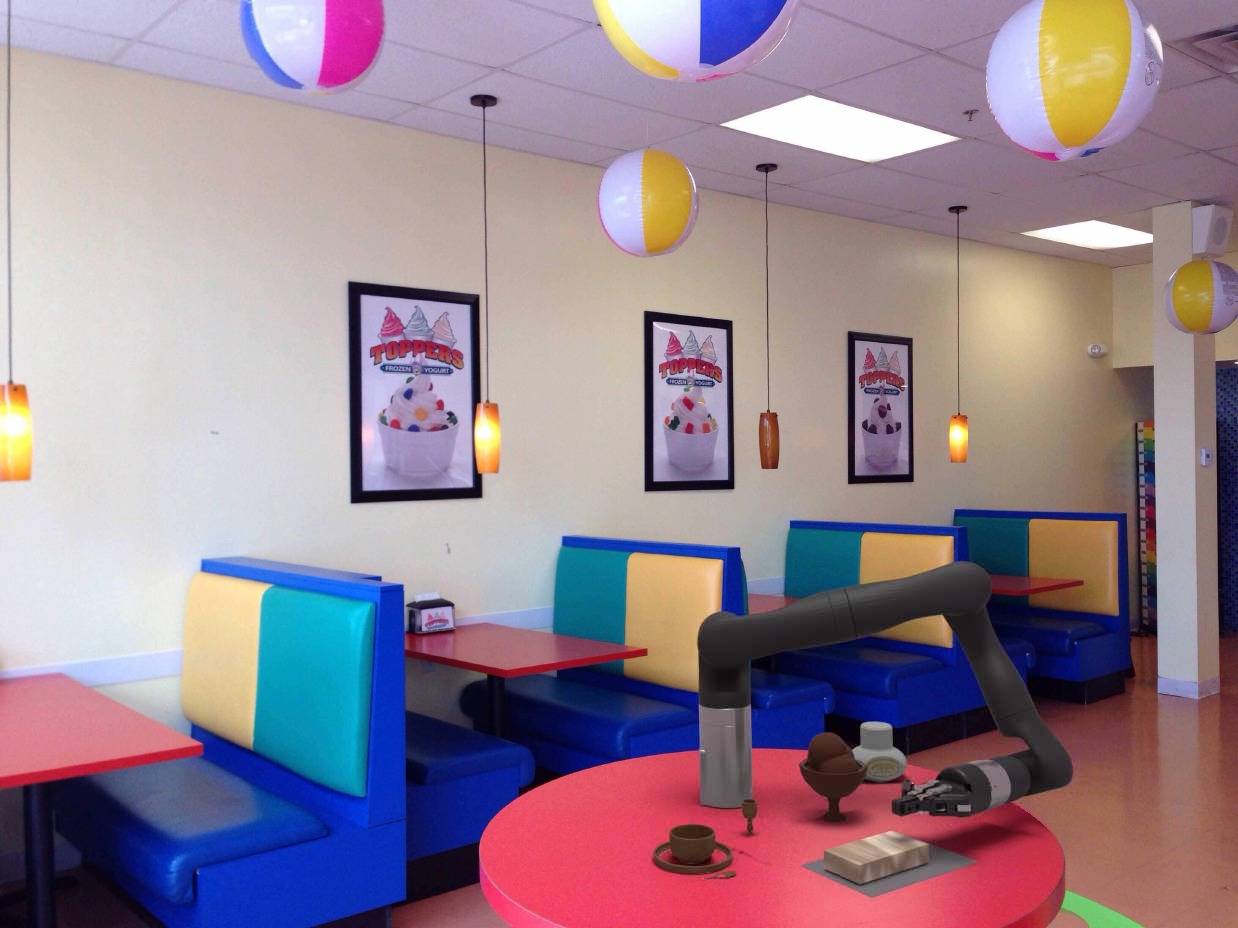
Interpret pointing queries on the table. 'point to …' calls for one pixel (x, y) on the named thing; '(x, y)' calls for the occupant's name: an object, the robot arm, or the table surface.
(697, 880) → the table surface
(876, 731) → the air freshener
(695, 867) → the place setting
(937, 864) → the mat
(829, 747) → the ice cream bowl
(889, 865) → the tile
